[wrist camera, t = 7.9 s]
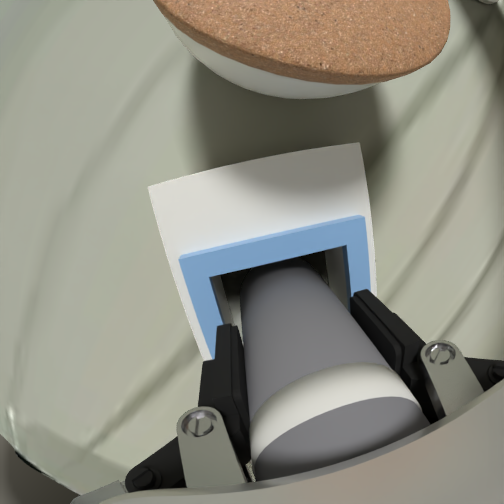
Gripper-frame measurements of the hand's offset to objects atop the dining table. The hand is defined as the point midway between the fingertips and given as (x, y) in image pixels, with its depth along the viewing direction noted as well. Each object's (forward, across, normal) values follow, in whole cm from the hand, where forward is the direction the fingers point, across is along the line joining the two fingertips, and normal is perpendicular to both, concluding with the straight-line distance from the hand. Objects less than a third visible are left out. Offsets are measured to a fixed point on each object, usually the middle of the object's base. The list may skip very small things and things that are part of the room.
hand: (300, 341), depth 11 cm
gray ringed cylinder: (+4, 0, 0) cm, 4 cm away
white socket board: (+5, 0, +6) cm, 8 cm away
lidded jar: (+6, -3, -14) cm, 15 cm away
